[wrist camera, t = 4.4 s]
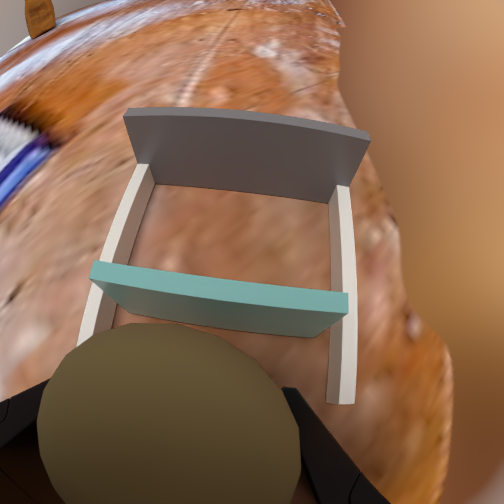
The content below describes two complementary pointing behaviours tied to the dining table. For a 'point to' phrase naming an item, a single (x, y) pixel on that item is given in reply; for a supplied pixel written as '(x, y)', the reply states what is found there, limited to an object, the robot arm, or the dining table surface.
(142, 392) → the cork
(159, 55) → the dining table surface
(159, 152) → the pusher lane
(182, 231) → the dining table surface
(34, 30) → the coffee package
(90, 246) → the dining table surface
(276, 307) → the pusher paddle
